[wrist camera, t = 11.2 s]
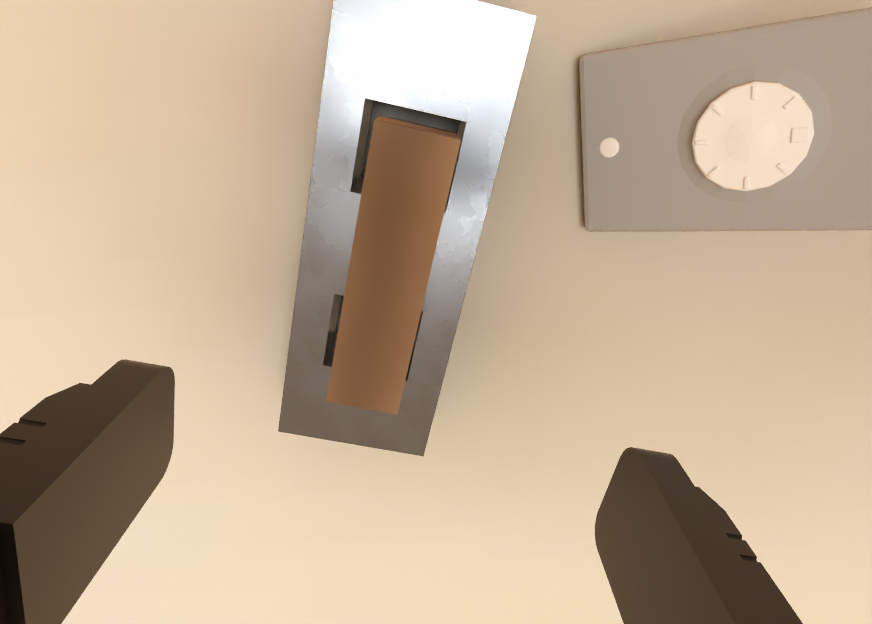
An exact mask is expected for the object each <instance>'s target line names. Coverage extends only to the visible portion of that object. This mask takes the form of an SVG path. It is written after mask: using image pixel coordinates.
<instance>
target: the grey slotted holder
mask: <svg viewBox="0 0 872 624" xmlns="http://www.w3.org/2000/svg"><path fill="white" fill-rule="evenodd" d="M536 17H537V16H535V15H531V14H528V13H524V12H520V11H516V10H512V9H508V8H504V7H500V6H496V5H493V4H489V3H485V2H481V1H477V0H334V2H333V10H332V18H331V25H330V33H329V41H328V49H327V56H326V64H325V72H324V80H323V88H322V95H321V103H320V111H319V119H318V126H317V134H316V142H315V150H314V157H313V165H312V173H311V181H310V188H309V196H308V204H307V212H306V219H305V227H304V235H303V243H302V250H301V258H300V266H299V274H298V281H297V289H296V297H295V305H294V313H293V320H292V328H291V336H290V344H289V351H288V359H287V367H286V375H285V382H284V390H283V398H282V406H281V413H280V421H279V429H278V431H279V432H285V433H291V434H297V435H302V436H308V437H314V438H320V439H326V440H332V441H338V442H343V443H349V444H355V445H361V446H367V447H373V448H379V449H384V450H390V451H396V452H402V453H408V454H414V455H420V456H424V452H425V448H426V444H427V440H428V436H429V432H430V429H431V425H432V421H433V417H434V413H435V409H436V405H437V401H438V397H439V394H440V390H441V386H442V382H443V378H444V374H445V370H446V366H447V363H448V359H449V355H450V351H451V347H452V343H453V339H454V335H455V332H456V328H457V324H458V320H459V316H460V312H461V308H462V304H463V301H464V297H465V293H466V289H467V285H468V281H469V277H470V273H471V269H472V266H473V262H474V258H475V254H476V250H477V246H478V242H479V238H480V235H481V231H482V227H483V223H484V219H485V215H486V211H487V207H488V204H489V200H490V196H491V192H492V188H493V184H494V180H495V176H496V173H497V169H498V165H499V161H500V157H501V153H502V149H503V145H504V142H505V138H506V134H507V130H508V126H509V122H510V118H511V114H512V110H513V107H514V103H515V99H516V95H517V91H518V87H519V83H520V79H521V76H522V72H523V68H524V64H525V60H526V56H527V52H528V48H529V45H530V41H531V37H532V33H533V29H534V25H535V21H536ZM373 100H375V101H379V102H384V103H388V104H392V105H397V106H401V107H405V108H409V109H414V110H418V111H422V112H426V113H431V114H435V115H439V116H444V117H448V118H452V119H456V120H460V125H459V129H458V134H457V135H458V136H459V138H460V140H461V142H460V147H459V151H458V155H457V160H456V164H455V168H454V173H453V177H452V181H451V185H450V190H449V194H448V198H447V203H446V207H445V211H444V216H443V220H442V224H441V229H440V233H439V237H438V242H437V246H436V250H435V255H434V259H433V263H432V267H431V272H430V276H429V280H428V285H427V289H426V293H425V298H424V302H423V306H422V311H421V315H420V319H419V324H418V328H417V332H416V336H415V341H414V345H413V349H412V354H411V358H410V362H409V367H408V371H407V375H406V380H405V384H404V388H403V393H402V397H401V401H400V406H399V410H398V414H391V413H386V412H380V411H375V410H369V409H364V408H358V407H353V406H347V405H342V404H336V403H330V402H326V399H327V393H328V387H329V381H330V375H331V370H332V364H333V358H334V352H335V346H336V340H337V334H338V333H336V332H335V331H336V324H337V318H338V312H339V306H340V300H341V295H343V296H344V293H345V287H346V281H347V275H348V270H349V264H350V258H351V252H352V246H353V240H354V234H355V228H356V223H357V217H358V211H359V205H360V199H361V193H362V187H363V181H364V179H363V178H361V172H362V165H363V159H364V153H365V147H366V141H367V135H368V129H369V123H370V117H371V110H372V104H373Z"/></svg>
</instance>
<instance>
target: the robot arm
mask: <svg viewBox="0 0 872 624" xmlns="http://www.w3.org/2000/svg"><path fill="white" fill-rule="evenodd" d="M174 388H175V378H174V373H173V370H172V369H171V368H170V367H166V366H160V365H154V364H148V363H142V362H137V361H131V360H120V361H119V362H117V363H116V364H115V365H114V366H112V367H111V368H110V369H109V370H108V371H107V372H105V373H104V374H103V375H102V376H101V377H100V378H99V379H97V380H96V381H95V382H94V383H93V384H92V385H89V384H83V383H79V384H77V385H74V386H72V387H70V388H67V389H65V390H63V391H60V392H58V393H56V394H53V395H51V396H49V397H46V398H45V399H43V400H42V401H41V402H40V403H38V404H37V405H36V406H35V407H33V408H32V409H31V410H30V411H28V412H27V413H26V414H25V415H23V416H22V417H21V418H20V420H19V422H18V423H13V424H12V425H11V426H10V427H8V428H7V429H6V430H5V431H3V432H2V433H1V434H0V624H61V623H62V622H63V620H64V619H65V618H66V616H67V615H68V613H69V612H70V610H71V609H72V607H73V606H74V605H75V603H76V602H77V600H78V599H79V597H80V596H81V594H82V593H83V592H84V590H85V589H86V587H87V586H88V584H89V583H90V582H91V580H92V579H93V577H94V576H95V574H96V573H97V571H98V570H99V569H100V567H101V566H102V564H103V563H104V561H105V560H106V559H107V557H108V556H109V554H110V553H111V551H112V550H113V548H114V547H115V546H116V544H117V543H118V541H119V540H120V538H121V537H122V536H123V534H124V533H125V531H126V530H127V528H128V527H129V525H130V524H131V523H132V521H133V520H134V518H135V517H136V515H137V514H138V513H139V511H140V510H141V508H142V507H143V505H144V504H145V502H146V501H147V500H148V498H149V497H150V495H151V494H152V492H153V491H154V490H155V488H156V487H157V485H158V484H159V482H160V481H161V479H162V478H163V476H164V474H165V472H166V469H167V467H168V464H169V461H170V458H171V454H172V449H173V437H174ZM595 540H596V546H597V549H598V552H599V555H600V558H601V561H602V564H603V566H604V569H605V572H606V575H607V578H608V580H609V583H610V586H611V589H612V592H613V594H614V597H615V600H616V603H617V606H618V609H619V611H620V614H621V617H622V620H623V623H624V624H803V623H802V622H801V620H800V619H799V617H798V616H797V615H796V613H795V612H794V610H793V609H792V607H791V606H790V604H789V603H788V602H787V600H786V599H785V597H784V596H783V594H782V593H781V591H780V590H779V588H778V587H777V586H776V584H775V583H774V581H773V580H772V578H771V577H770V575H769V574H768V573H767V571H766V570H765V568H764V567H763V565H762V564H761V563H760V562H757V561H756V558H757V557H756V555H755V554H754V552H753V551H752V549H751V548H750V546H749V545H748V544H747V542H746V541H744V540H742V535H741V533H740V532H739V531H738V529H737V528H736V526H735V525H734V523H733V522H732V520H731V519H730V518H729V516H728V515H727V513H726V512H725V510H724V509H722V508H721V507H720V506H719V505H718V504H717V503H716V502H715V501H714V500H712V499H711V498H710V497H709V496H708V495H707V494H706V493H705V492H704V491H702V490H701V489H700V488H699V487H695V486H694V485H693V483H692V482H691V480H690V478H689V477H688V475H687V474H686V472H685V471H684V469H683V468H682V466H681V465H680V463H679V462H678V460H677V459H676V458H675V457H674V456H673V455H671V454H667V453H661V452H656V451H650V450H644V449H638V448H632V447H630V448H627V449H626V450H625V451H624V452H623V453H622V455H621V457H620V459H619V461H618V464H617V466H616V469H615V471H614V474H613V476H612V479H611V481H610V483H609V486H608V488H607V491H606V493H605V496H604V498H603V501H602V503H601V506H600V508H599V510H598V513H597V517H596V523H595Z"/></svg>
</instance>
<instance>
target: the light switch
mask: <svg viewBox="0 0 872 624" xmlns="http://www.w3.org/2000/svg"><path fill="white" fill-rule="evenodd" d="M579 77H580V105H581V132H582V160H583V188H584V216H585V228H586V230H587V231H590V232H616V231H791V230H872V8H867V9H860V10H854V11H848V12H842V13H836V14H829V15H823V16H817V17H811V18H805V19H799V20H792V21H786V22H780V23H774V24H768V25H762V26H755V27H749V28H743V29H737V30H731V31H724V32H718V33H712V34H706V35H700V36H694V37H687V38H681V39H675V40H669V41H663V42H657V43H650V44H644V45H638V46H632V47H626V48H619V49H613V50H607V51H601V52H595V53H589V54H584V55H583V56H581V57H580V60H579ZM751 81H752V82H751ZM768 81H769V82H768ZM748 82H749V83H748ZM779 82H780V83H779ZM781 83H782V84H781ZM741 84H742V85H741ZM738 85H739V86H738ZM731 87H732V88H731ZM728 89H729V90H728ZM794 90H795V91H794ZM725 91H726V92H725ZM796 91H797V92H796ZM724 92H725V93H724ZM798 92H799V93H800V94H799V93H798ZM721 94H722V95H721ZM718 96H719V97H718ZM801 96H802V97H801ZM717 97H718V98H717ZM714 99H715V100H714ZM803 99H804V100H803ZM711 101H712V102H711ZM710 102H711V103H710ZM805 102H806V103H807V104H806V103H805ZM709 104H710V105H709ZM708 105H709V106H708ZM707 106H708V107H707ZM808 106H809V107H808ZM706 108H707V109H706ZM705 109H706V110H705ZM810 109H811V110H810ZM704 111H705V112H704ZM703 112H704V113H703ZM702 114H703V115H702ZM701 115H702V116H701ZM700 116H701V117H700ZM699 118H700V119H699ZM698 119H699V120H698ZM697 121H698V122H697ZM696 124H697V125H696ZM695 128H696V129H695ZM694 132H695V133H694ZM693 136H694V137H693ZM692 140H693V141H692Z"/></svg>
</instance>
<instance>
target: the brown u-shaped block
mask: <svg viewBox="0 0 872 624" xmlns="http://www.w3.org/2000/svg"><path fill="white" fill-rule="evenodd" d="M460 142H461V140H460V138H459V136H458V135H457V134H456V133H452V132H448V131H445V130H441V129H437V128H433V127H428V126H424V125H420V124H416V123H411V122H407V121H403V120H399V119H394V118H388V117H384V116H379V117H378V118H376V119H375V120H374V123H373V128H372V134H371V140H370V146H369V152H368V158H367V164H366V170H365V176H364V181H363V187H362V193H361V199H360V205H359V211H358V217H357V223H356V228H355V234H354V240H353V246H352V252H351V258H350V264H349V270H348V275H347V281H346V287H345V293H344V299H343V305H342V311H341V317H340V323H339V328H338V334H337V340H336V346H335V352H334V358H333V364H332V370H331V375H330V381H329V387H328V393H327V399H326V402H330V403H336V404H342V405H347V406H353V407H358V408H364V409H369V410H375V411H380V412H386V413H391V414H398V410H399V406H400V401H401V397H402V393H403V388H404V384H405V380H406V375H407V371H408V367H409V362H410V358H411V354H412V349H413V345H414V341H415V336H416V332H417V328H418V324H419V319H420V315H421V311H422V306H423V302H424V298H425V293H426V289H427V285H428V280H429V276H430V272H431V267H432V263H433V259H434V255H435V250H436V246H437V242H438V237H439V233H440V229H441V224H442V220H443V216H444V211H445V207H446V203H447V198H448V194H449V190H450V185H451V181H452V177H453V173H454V168H455V164H456V160H457V155H458V151H459V147H460Z"/></svg>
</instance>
